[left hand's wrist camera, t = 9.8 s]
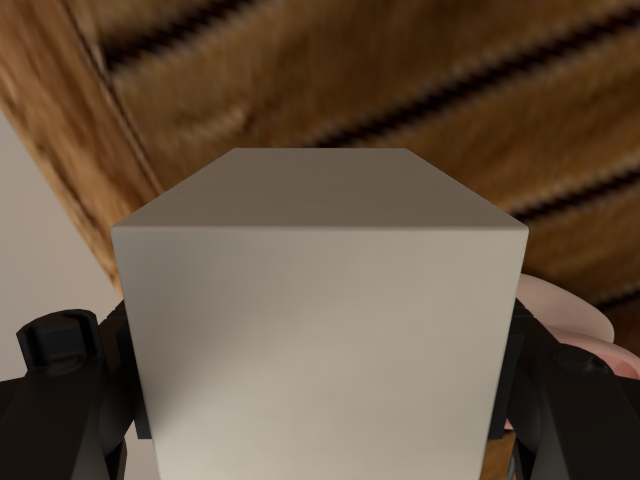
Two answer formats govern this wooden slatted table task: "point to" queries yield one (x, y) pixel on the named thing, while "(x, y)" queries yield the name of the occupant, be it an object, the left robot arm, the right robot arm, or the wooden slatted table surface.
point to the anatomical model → (575, 324)
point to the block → (319, 316)
